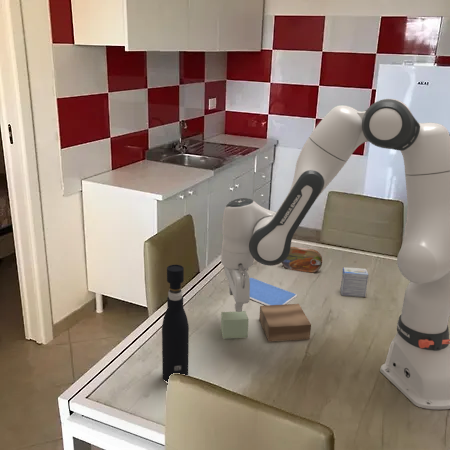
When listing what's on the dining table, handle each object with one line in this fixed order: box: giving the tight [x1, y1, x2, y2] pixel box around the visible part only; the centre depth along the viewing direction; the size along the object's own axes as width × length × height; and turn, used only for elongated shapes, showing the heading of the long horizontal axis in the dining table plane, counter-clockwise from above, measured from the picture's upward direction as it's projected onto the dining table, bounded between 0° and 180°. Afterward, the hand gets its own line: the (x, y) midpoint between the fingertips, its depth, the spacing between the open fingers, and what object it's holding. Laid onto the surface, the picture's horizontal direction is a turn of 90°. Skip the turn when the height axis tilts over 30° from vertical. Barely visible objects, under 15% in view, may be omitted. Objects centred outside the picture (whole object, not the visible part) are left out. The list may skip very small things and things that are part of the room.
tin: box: [281, 246, 323, 273], centre depth 189 cm, size 15×3×8 cm, turn 73°
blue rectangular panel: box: [249, 277, 298, 306], centre depth 172 cm, size 19×13×1 cm, turn 52°
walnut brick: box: [258, 303, 312, 342], centre depth 151 cm, size 12×12×5 cm
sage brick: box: [220, 310, 249, 340], centre depth 147 cm, size 4×7×6 cm, turn 99°
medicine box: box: [340, 266, 369, 298], centre depth 172 cm, size 8×4×9 cm, turn 84°
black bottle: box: [161, 264, 190, 382], centre depth 124 cm, size 6×6×30 cm
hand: (235, 302), depth 145 cm, fingers open, 8 cm apart
